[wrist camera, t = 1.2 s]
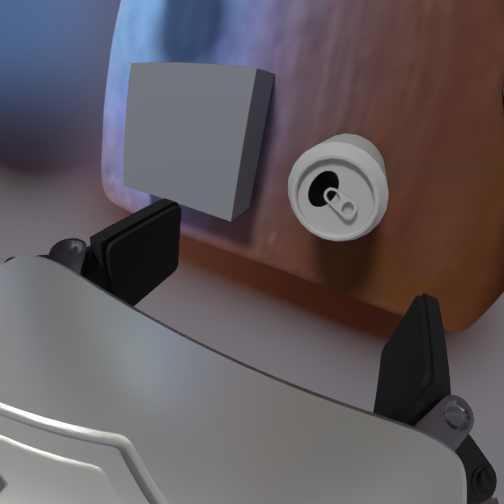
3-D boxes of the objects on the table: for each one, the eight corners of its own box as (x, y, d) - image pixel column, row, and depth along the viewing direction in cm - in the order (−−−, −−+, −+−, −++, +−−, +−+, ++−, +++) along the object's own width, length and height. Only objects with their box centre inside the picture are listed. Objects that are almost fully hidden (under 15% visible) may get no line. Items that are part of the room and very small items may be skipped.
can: (337, 119, 27) (314, 122, 17) (398, 160, 26) (411, 189, 16) (302, 176, 31) (262, 211, 22) (359, 215, 31) (347, 270, 21)
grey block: (274, 74, 27) (256, 68, 23) (249, 207, 35) (230, 221, 31) (158, 64, 31) (131, 63, 27) (148, 175, 40) (123, 185, 35)
